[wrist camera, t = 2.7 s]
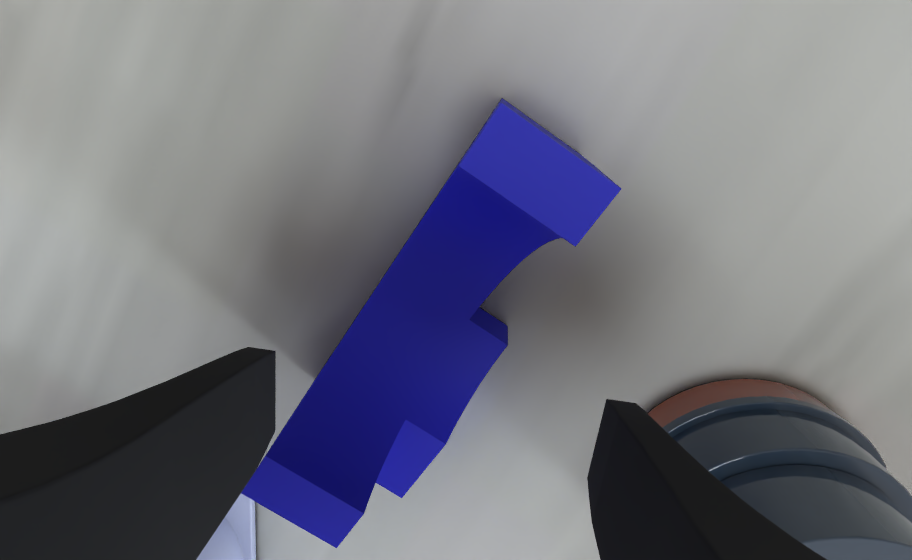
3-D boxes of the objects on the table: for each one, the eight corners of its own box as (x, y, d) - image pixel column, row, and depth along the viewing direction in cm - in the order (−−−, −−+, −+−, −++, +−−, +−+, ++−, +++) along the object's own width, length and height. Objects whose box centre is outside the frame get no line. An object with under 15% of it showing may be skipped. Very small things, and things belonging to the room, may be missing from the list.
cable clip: (415, 442, 21) (382, 574, 15) (314, 380, 20) (240, 493, 15) (620, 183, 17) (678, 229, 11) (502, 97, 16) (501, 102, 11)
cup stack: (586, 553, 22) (618, 733, 16) (636, 357, 19) (699, 486, 13) (811, 587, 21) (933, 785, 15) (898, 393, 18) (1093, 543, 12)
